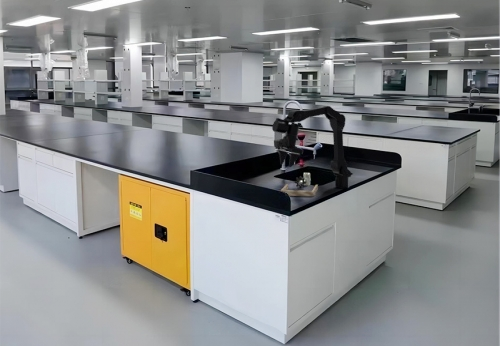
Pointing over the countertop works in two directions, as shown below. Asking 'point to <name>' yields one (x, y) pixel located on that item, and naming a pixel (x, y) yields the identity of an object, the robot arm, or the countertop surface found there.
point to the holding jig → (299, 193)
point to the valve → (303, 180)
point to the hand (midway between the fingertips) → (285, 165)
